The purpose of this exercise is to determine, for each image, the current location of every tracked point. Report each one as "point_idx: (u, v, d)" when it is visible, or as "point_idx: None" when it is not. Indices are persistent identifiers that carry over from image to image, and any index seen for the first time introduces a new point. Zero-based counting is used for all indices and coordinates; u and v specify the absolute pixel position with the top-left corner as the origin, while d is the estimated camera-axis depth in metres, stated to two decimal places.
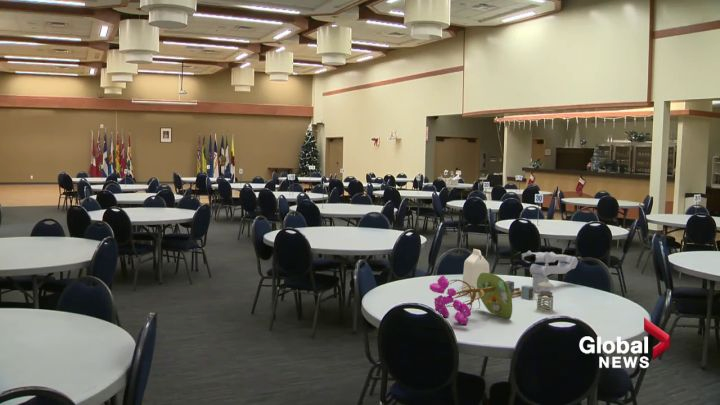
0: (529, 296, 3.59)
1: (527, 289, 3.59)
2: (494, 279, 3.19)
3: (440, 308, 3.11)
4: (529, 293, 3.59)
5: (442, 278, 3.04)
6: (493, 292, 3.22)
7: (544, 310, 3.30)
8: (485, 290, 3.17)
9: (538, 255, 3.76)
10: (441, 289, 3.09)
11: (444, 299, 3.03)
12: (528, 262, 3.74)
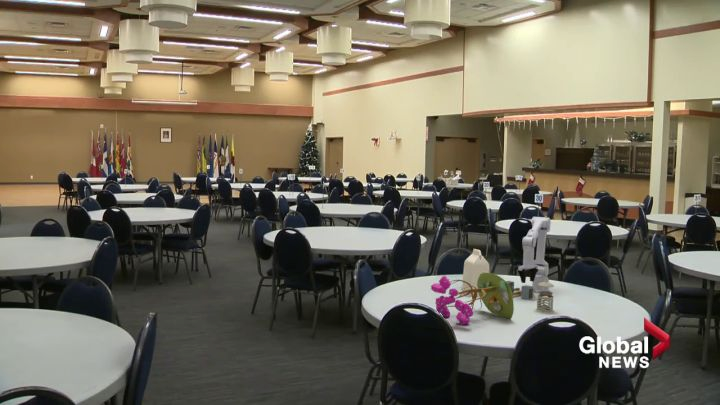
0: (529, 296, 3.59)
1: (527, 289, 3.59)
2: (495, 279, 3.19)
3: (441, 308, 3.11)
4: (529, 293, 3.59)
5: (444, 278, 3.03)
6: (494, 292, 3.22)
7: (544, 310, 3.30)
8: (486, 290, 3.17)
9: (531, 257, 3.58)
10: (443, 289, 3.09)
11: (446, 299, 3.03)
12: None
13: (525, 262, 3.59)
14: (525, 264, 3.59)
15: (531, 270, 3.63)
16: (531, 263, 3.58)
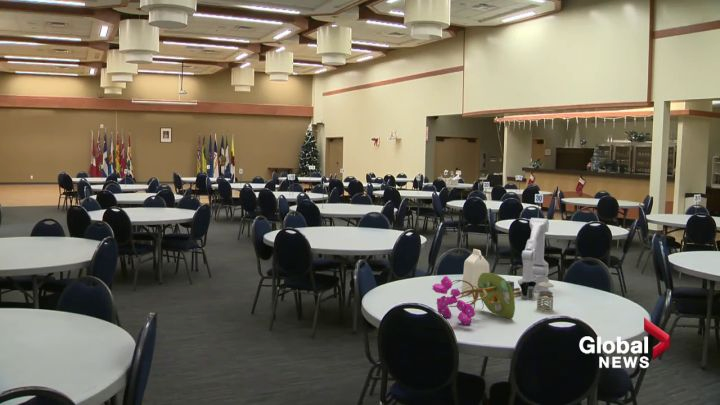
0: (529, 296, 3.59)
1: (527, 289, 3.59)
2: (496, 279, 3.19)
3: (443, 309, 3.10)
4: (529, 293, 3.59)
5: (446, 278, 3.03)
6: (495, 292, 3.22)
7: (544, 310, 3.30)
8: (487, 290, 3.17)
9: (531, 270, 3.58)
10: (444, 289, 3.08)
11: (448, 300, 3.02)
12: None
13: (525, 275, 3.59)
14: (525, 277, 3.59)
15: (529, 283, 3.63)
16: (530, 277, 3.58)
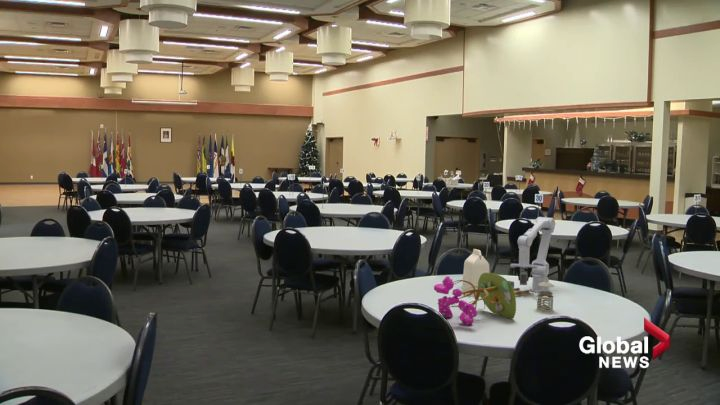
0: (520, 281, 3.66)
1: (520, 274, 3.67)
2: (497, 279, 3.19)
3: (444, 309, 3.10)
4: (520, 278, 3.66)
5: (447, 279, 3.02)
6: (496, 292, 3.22)
7: (544, 310, 3.30)
8: (488, 290, 3.17)
9: (526, 256, 3.65)
10: (446, 290, 3.08)
11: (449, 300, 3.02)
12: None
13: (519, 260, 3.68)
14: (519, 262, 3.68)
15: None
16: (522, 262, 3.65)
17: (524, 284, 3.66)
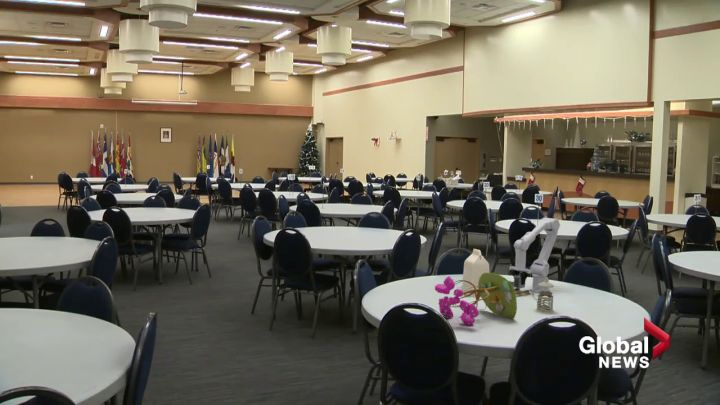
0: (514, 284, 3.74)
1: None
2: (497, 279, 3.19)
3: (445, 309, 3.10)
4: (514, 281, 3.74)
5: (448, 279, 3.02)
6: (496, 292, 3.22)
7: (544, 310, 3.30)
8: (489, 290, 3.17)
9: (521, 259, 3.71)
10: (447, 290, 3.08)
11: (451, 300, 3.02)
12: None
13: None
14: None
15: None
16: (516, 265, 3.73)
17: (517, 287, 3.72)
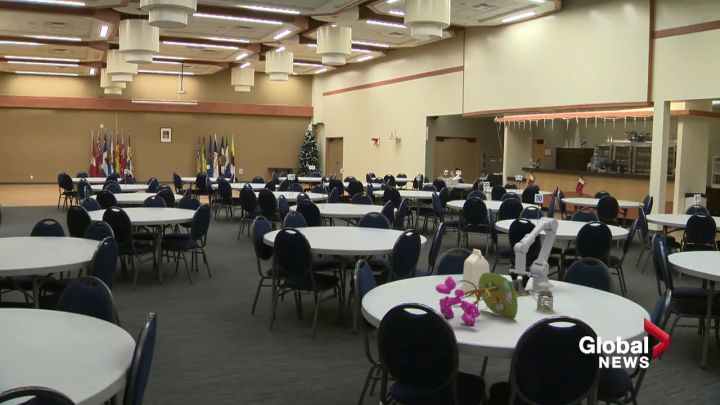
0: None
1: None
2: (498, 279, 3.19)
3: (446, 309, 3.10)
4: (514, 285, 3.74)
5: (450, 279, 3.02)
6: (497, 292, 3.22)
7: (544, 310, 3.30)
8: (490, 290, 3.17)
9: (521, 262, 3.71)
10: (448, 290, 3.07)
11: (452, 300, 3.02)
12: None
13: None
14: None
15: None
16: (516, 268, 3.73)
17: (517, 291, 3.73)
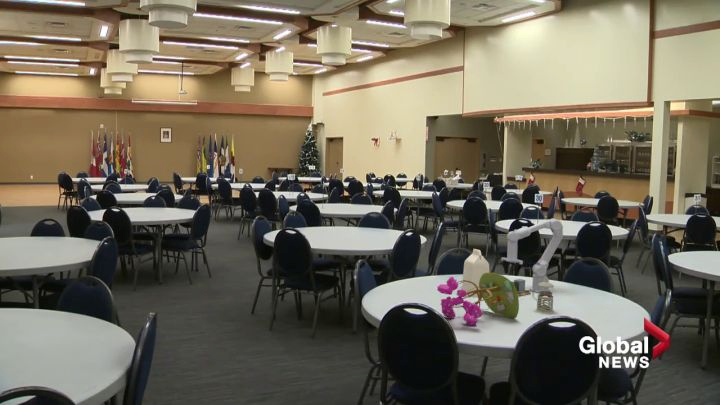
0: None
1: None
2: (499, 279, 3.19)
3: (448, 309, 3.09)
4: (514, 285, 3.74)
5: (452, 279, 3.01)
6: (497, 292, 3.22)
7: (544, 310, 3.30)
8: (491, 290, 3.17)
9: (510, 250, 3.79)
10: (449, 290, 3.07)
11: (454, 300, 3.01)
12: None
13: None
14: None
15: None
16: (507, 256, 3.81)
17: (517, 291, 3.73)
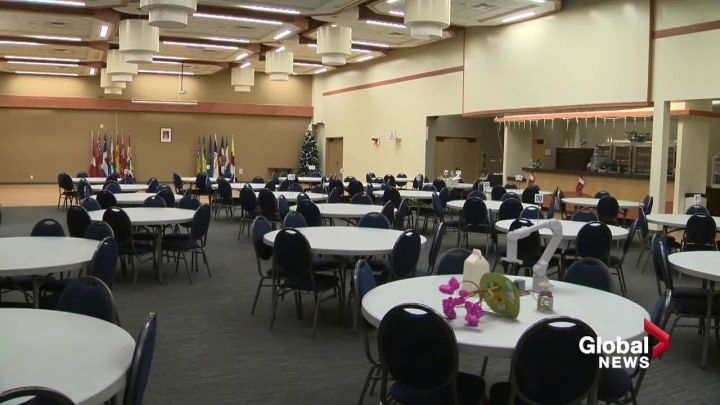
0: None
1: None
2: (500, 279, 3.19)
3: (450, 310, 3.09)
4: None
5: (453, 279, 3.01)
6: (498, 292, 3.22)
7: (544, 310, 3.30)
8: (492, 290, 3.17)
9: (509, 250, 3.80)
10: (451, 290, 3.06)
11: (456, 300, 3.01)
12: None
13: None
14: None
15: None
16: (507, 256, 3.81)
17: None
